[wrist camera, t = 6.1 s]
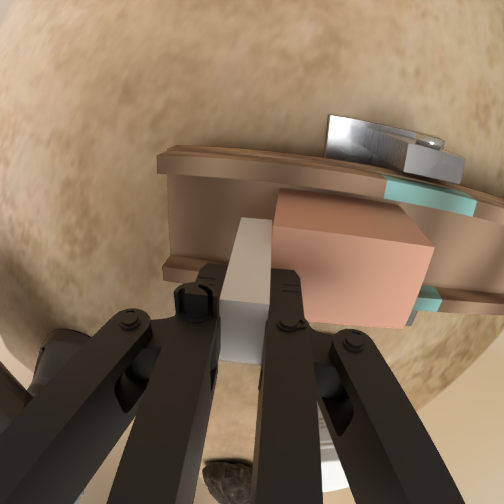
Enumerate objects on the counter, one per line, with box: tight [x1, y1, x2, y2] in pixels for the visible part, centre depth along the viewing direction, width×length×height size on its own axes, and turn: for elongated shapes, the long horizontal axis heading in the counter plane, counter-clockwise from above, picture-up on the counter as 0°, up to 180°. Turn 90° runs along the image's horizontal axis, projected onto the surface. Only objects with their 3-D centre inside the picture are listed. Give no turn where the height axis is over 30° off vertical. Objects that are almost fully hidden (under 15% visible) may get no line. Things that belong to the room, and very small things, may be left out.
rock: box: [202, 462, 253, 504], centre depth 45 cm, size 10×11×10 cm
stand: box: [324, 115, 465, 326], centre depth 20 cm, size 10×13×8 cm
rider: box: [271, 188, 435, 329], centre depth 15 cm, size 7×4×6 cm, turn 86°
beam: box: [157, 145, 504, 315], centre depth 19 cm, size 30×8×8 cm, turn 86°
